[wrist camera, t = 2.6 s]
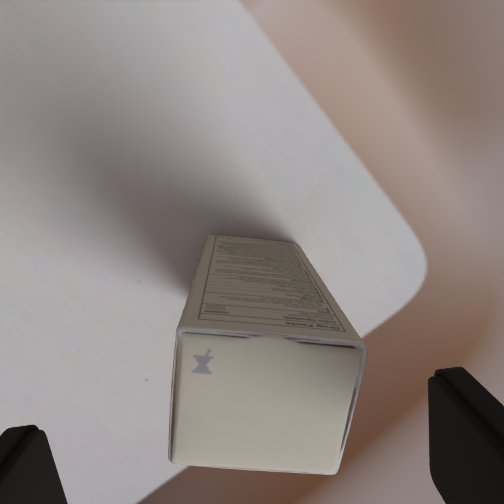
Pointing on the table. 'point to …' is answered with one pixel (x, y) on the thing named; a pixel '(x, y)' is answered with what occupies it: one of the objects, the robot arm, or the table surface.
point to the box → (262, 363)
